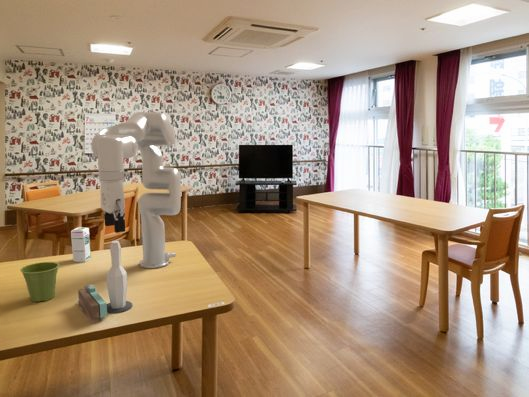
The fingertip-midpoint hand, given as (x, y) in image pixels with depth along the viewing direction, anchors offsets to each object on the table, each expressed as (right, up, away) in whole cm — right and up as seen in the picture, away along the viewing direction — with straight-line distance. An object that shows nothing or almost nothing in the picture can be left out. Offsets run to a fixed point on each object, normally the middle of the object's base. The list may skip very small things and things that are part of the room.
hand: (114, 228), depth 132 cm
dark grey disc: (0, -26, +4) cm, 27 cm away
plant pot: (-29, -25, +11) cm, 40 cm away
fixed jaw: (-8, -27, +1) cm, 28 cm away
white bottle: (0, -26, +4) cm, 27 cm away
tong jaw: (-5, -26, -1) cm, 26 cm away
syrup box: (-34, -18, +52) cm, 65 cm away
